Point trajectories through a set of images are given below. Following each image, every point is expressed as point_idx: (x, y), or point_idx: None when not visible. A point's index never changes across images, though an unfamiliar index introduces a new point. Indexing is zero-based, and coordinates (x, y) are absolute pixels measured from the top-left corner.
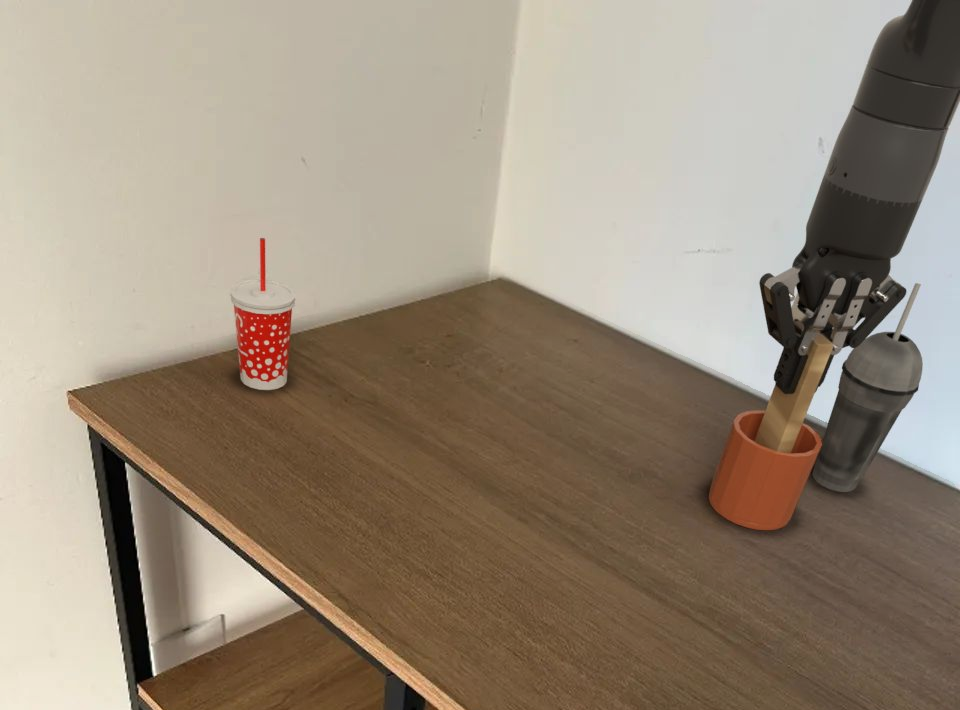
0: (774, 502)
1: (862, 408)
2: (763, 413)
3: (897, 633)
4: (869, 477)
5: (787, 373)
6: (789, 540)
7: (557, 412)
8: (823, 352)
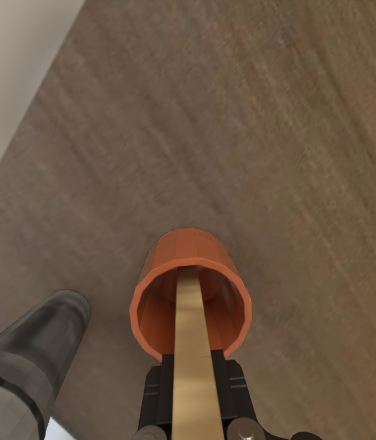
0: (195, 236)
1: (35, 362)
2: None
3: (126, 48)
4: (21, 315)
5: (240, 383)
6: (171, 210)
7: (314, 414)
8: (196, 423)
